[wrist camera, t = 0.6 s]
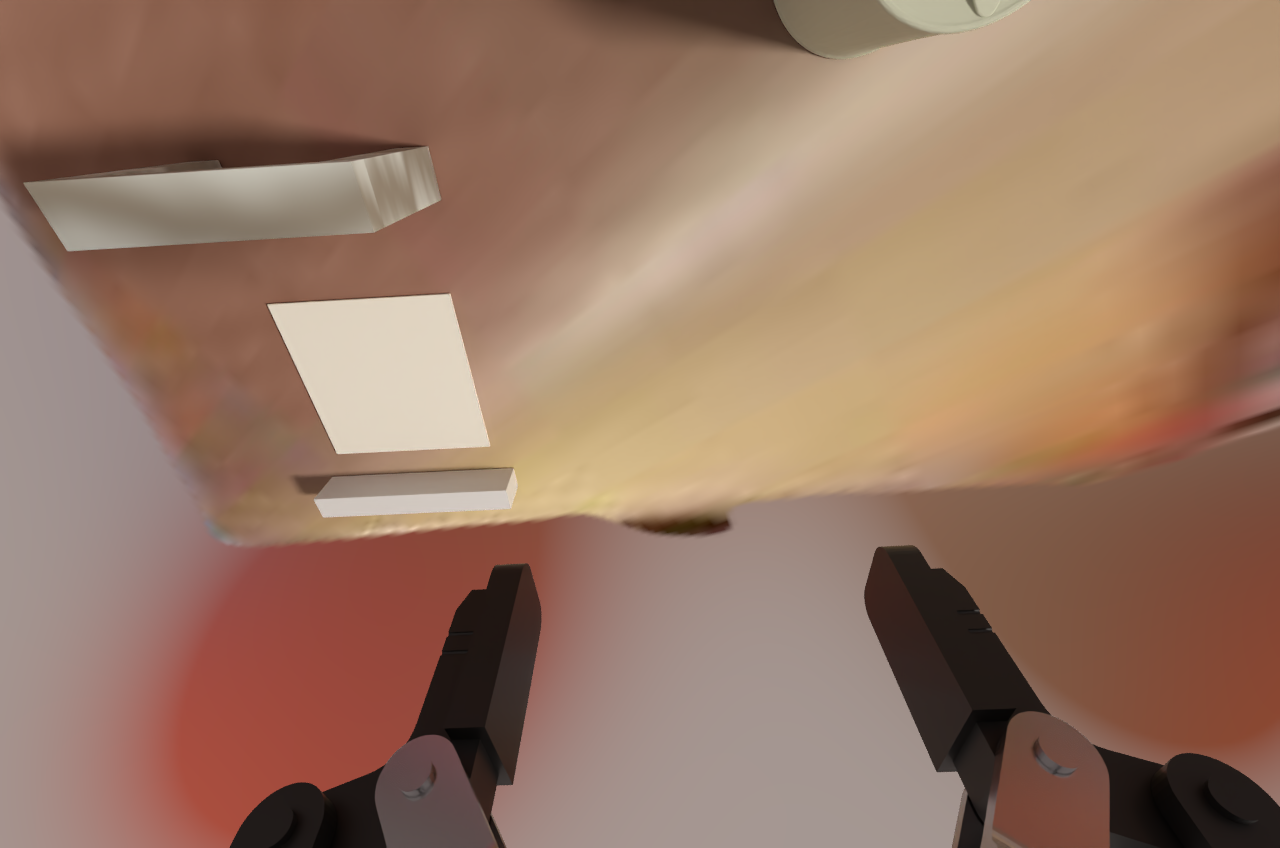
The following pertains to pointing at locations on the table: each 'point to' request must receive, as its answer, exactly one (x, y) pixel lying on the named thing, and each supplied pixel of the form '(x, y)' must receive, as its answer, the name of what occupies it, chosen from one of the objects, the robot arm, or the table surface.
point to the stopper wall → (418, 492)
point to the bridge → (236, 200)
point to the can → (882, 22)
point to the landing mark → (385, 372)
